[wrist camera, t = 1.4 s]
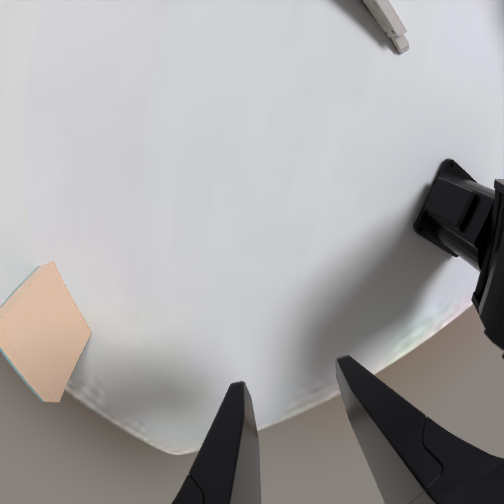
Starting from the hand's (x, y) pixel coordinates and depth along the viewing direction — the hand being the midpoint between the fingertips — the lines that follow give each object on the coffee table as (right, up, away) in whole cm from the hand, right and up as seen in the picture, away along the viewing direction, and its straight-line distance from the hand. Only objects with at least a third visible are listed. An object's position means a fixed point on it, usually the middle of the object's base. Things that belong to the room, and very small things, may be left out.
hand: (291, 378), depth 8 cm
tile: (-17, 0, +12) cm, 21 cm away
